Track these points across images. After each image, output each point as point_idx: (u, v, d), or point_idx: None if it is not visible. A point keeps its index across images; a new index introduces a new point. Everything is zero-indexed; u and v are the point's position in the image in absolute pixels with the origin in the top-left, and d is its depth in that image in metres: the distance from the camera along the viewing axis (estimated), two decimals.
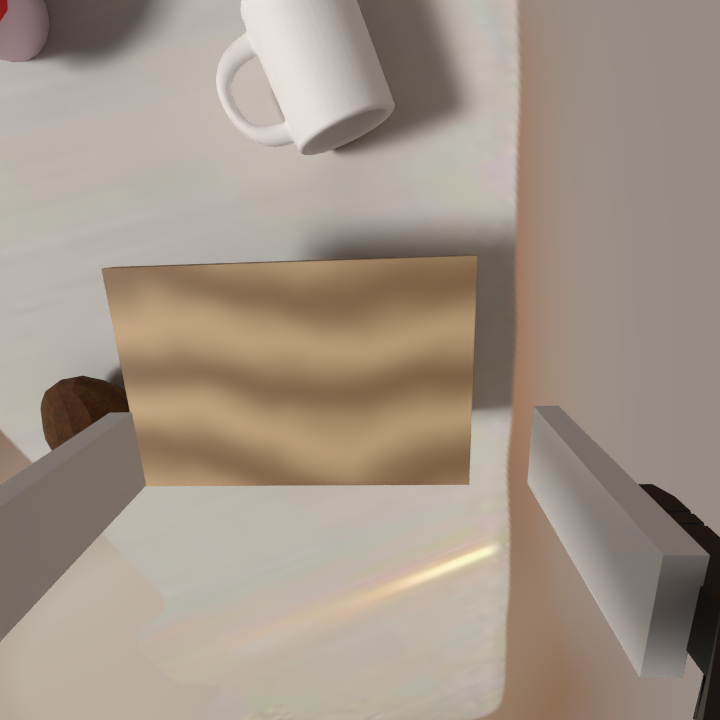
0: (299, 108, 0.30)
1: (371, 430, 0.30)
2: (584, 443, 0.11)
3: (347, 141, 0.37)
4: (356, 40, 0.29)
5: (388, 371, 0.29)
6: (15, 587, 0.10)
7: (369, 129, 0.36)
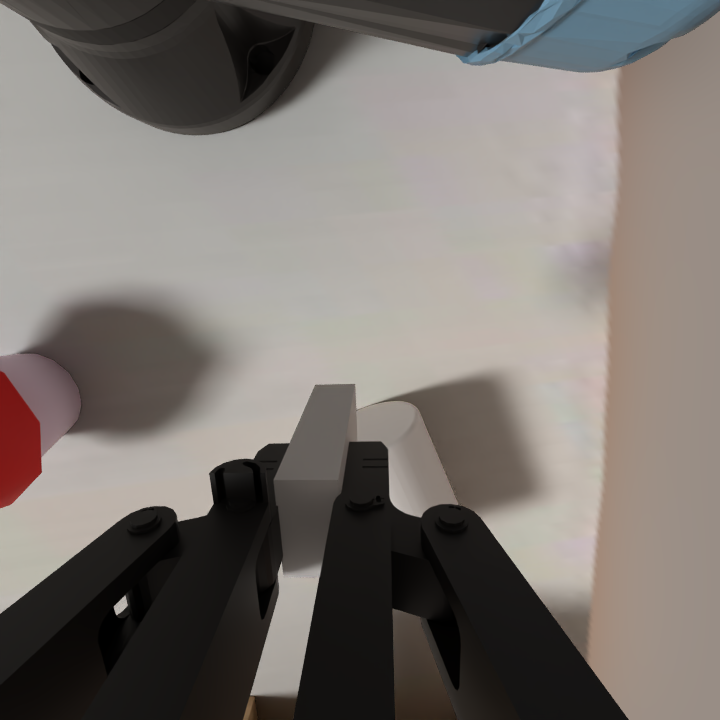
0: None
1: None
2: (341, 410, 0.14)
3: None
4: None
5: None
6: None
7: None
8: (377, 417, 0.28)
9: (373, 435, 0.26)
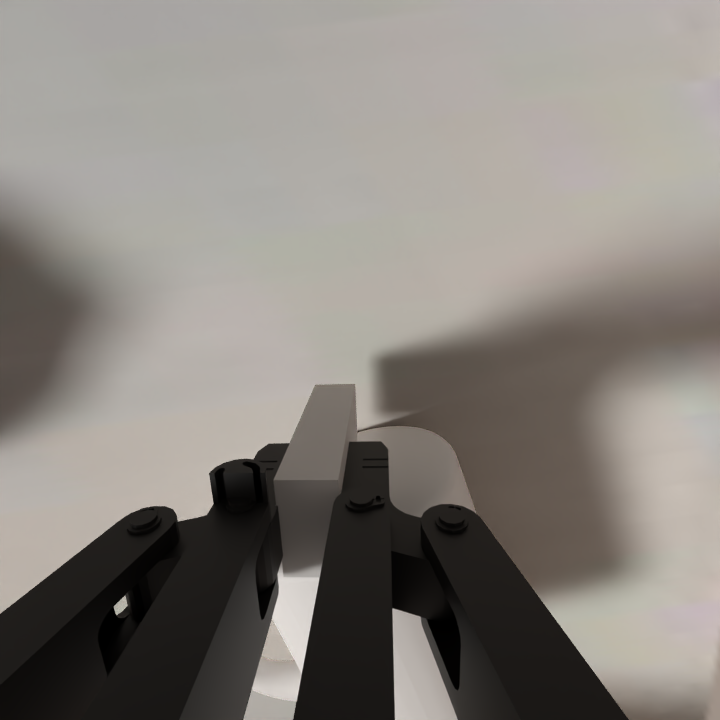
0: None
1: None
2: (341, 410, 0.14)
3: None
4: None
5: None
6: None
7: None
8: None
9: None
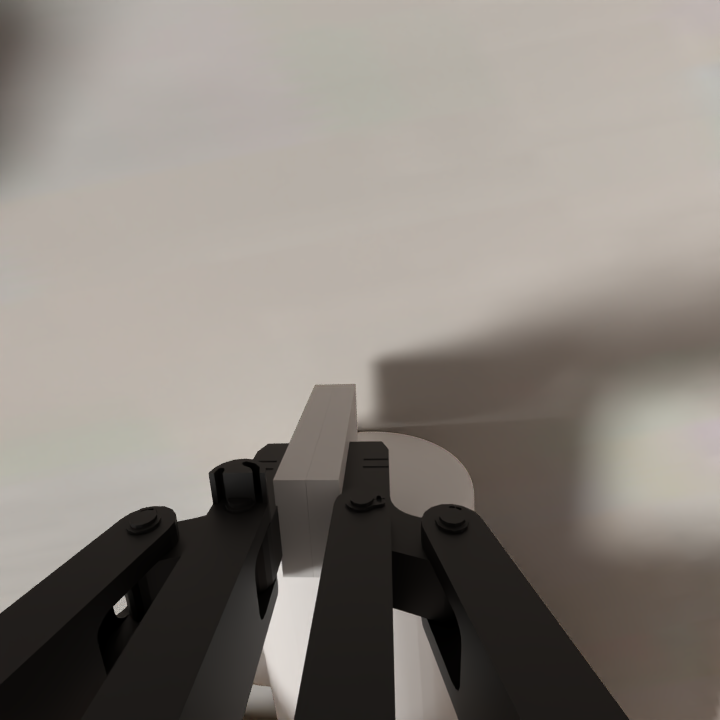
0: None
1: None
2: (342, 410, 0.14)
3: None
4: None
5: None
6: None
7: None
8: (389, 461, 0.16)
9: None
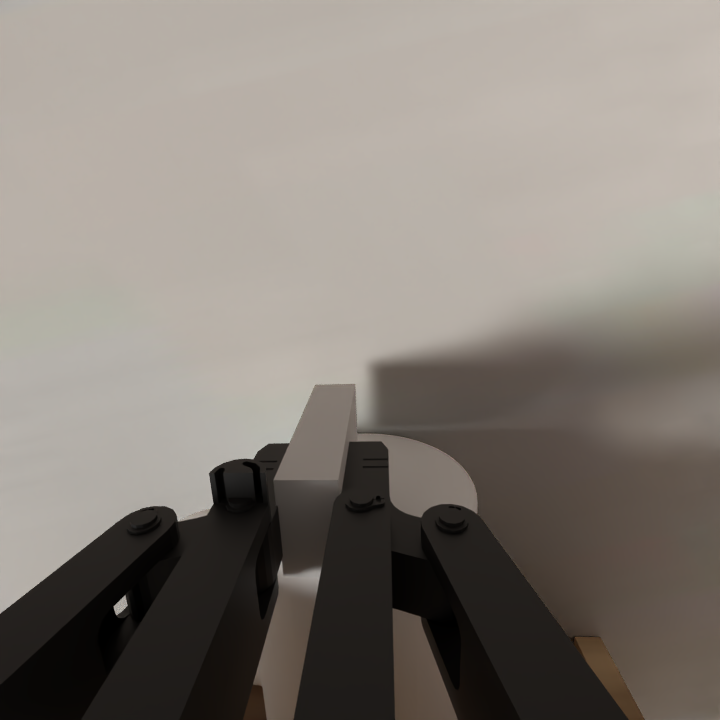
0: None
1: None
2: (341, 410, 0.14)
3: None
4: None
5: None
6: None
7: None
8: (393, 464, 0.16)
9: None
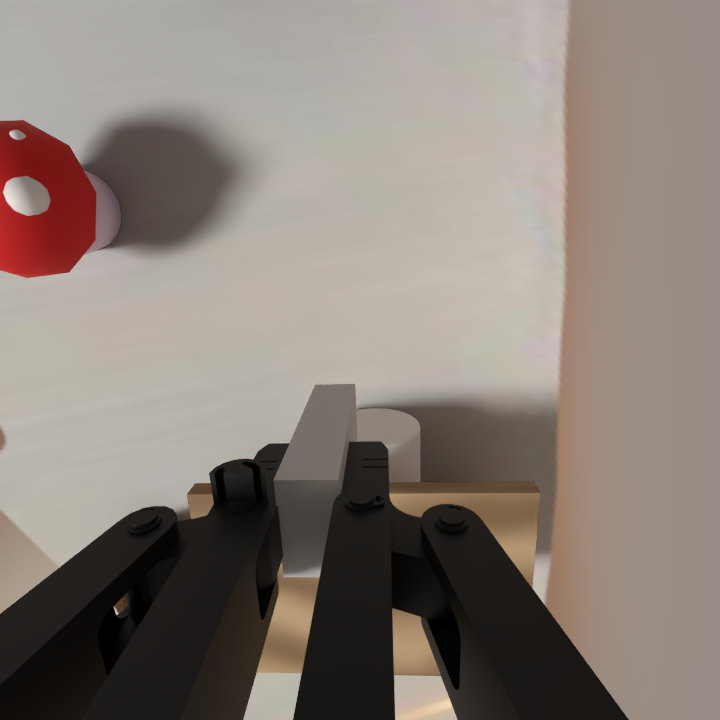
0: None
1: None
2: (341, 410, 0.14)
3: None
4: None
5: None
6: None
7: None
8: (388, 419, 0.39)
9: (385, 430, 0.37)
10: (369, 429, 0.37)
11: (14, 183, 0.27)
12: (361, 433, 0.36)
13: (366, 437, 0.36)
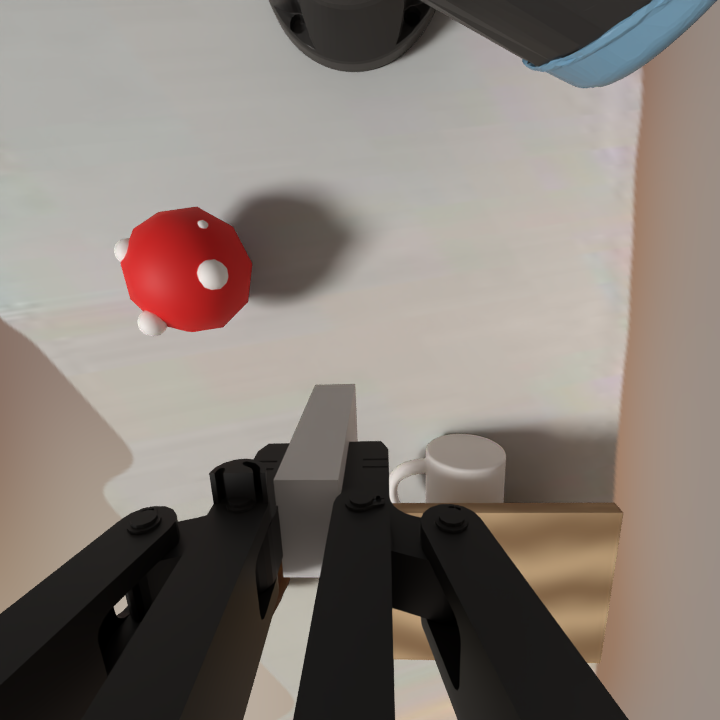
0: None
1: None
2: (341, 410, 0.14)
3: None
4: None
5: (545, 585, 0.38)
6: None
7: None
8: (475, 444, 0.46)
9: (477, 456, 0.43)
10: (463, 455, 0.44)
11: (208, 267, 0.33)
12: (457, 458, 0.43)
13: (463, 462, 0.42)
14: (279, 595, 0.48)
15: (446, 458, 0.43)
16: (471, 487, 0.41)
